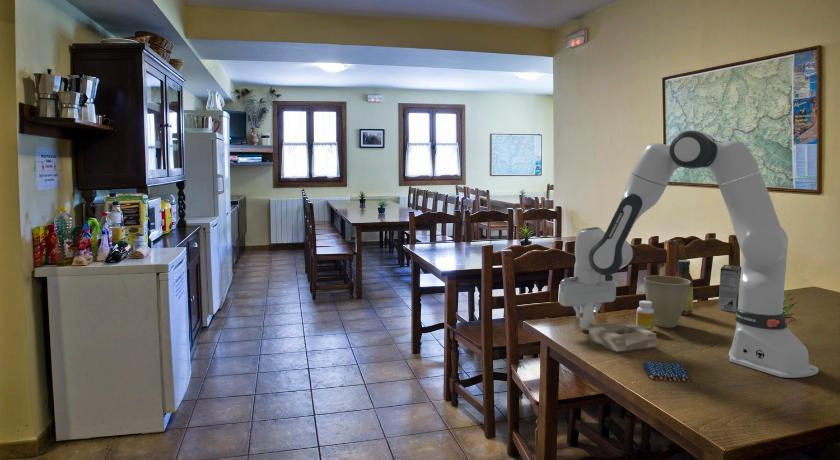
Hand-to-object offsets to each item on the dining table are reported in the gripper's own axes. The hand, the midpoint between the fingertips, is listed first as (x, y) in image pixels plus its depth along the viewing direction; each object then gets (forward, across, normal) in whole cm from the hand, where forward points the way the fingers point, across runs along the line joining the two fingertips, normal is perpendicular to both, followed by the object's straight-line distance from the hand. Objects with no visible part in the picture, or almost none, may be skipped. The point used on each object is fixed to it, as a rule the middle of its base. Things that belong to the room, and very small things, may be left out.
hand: (586, 316), depth 197 cm
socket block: (+5, +2, -16) cm, 17 cm away
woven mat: (+6, -3, -41) cm, 41 cm away
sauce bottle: (+5, +47, +7) cm, 48 cm away
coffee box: (+5, +69, +7) cm, 69 cm away
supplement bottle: (+5, +19, -6) cm, 20 cm away
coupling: (+4, 0, 0) cm, 4 cm away
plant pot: (+5, +30, -3) cm, 30 cm away
